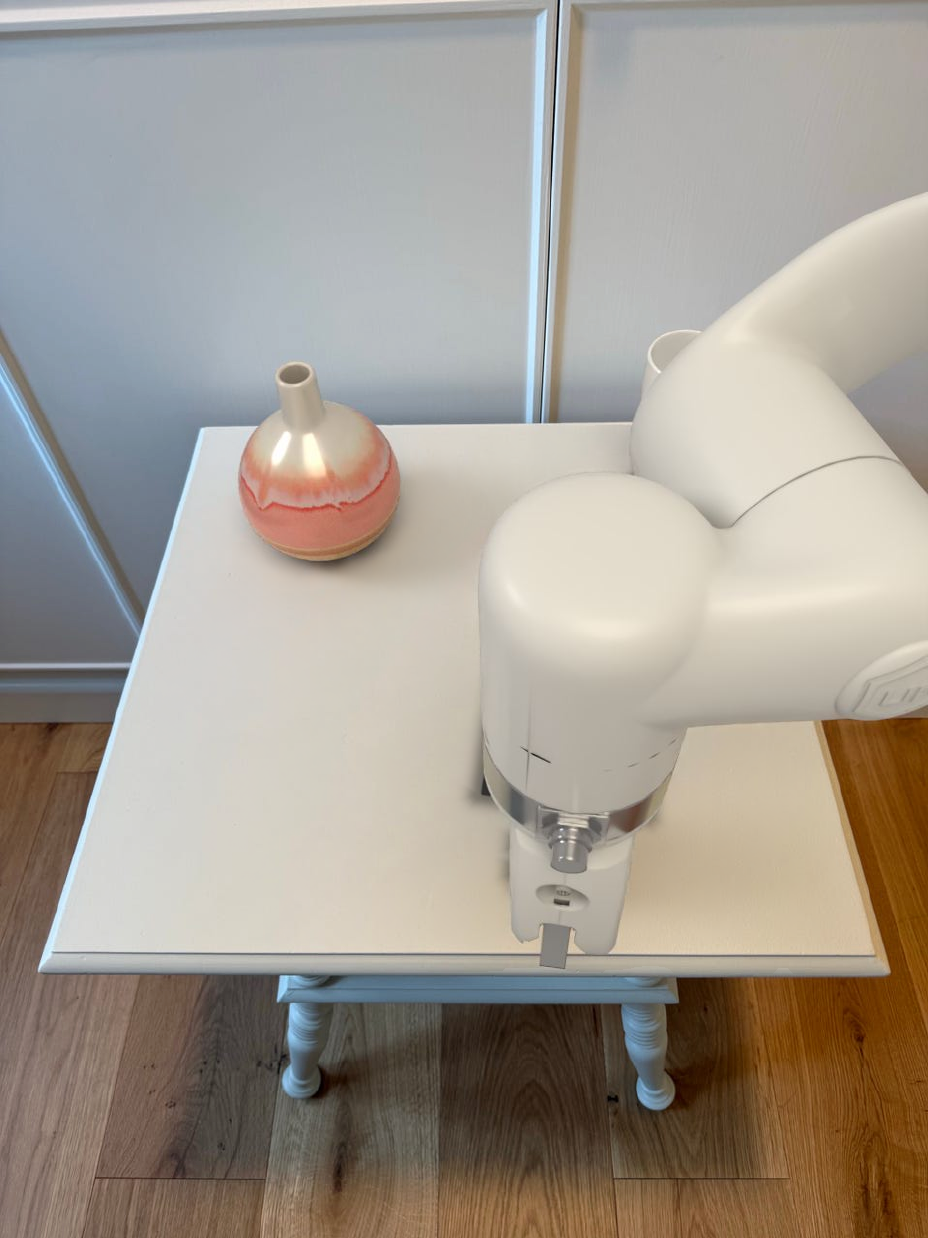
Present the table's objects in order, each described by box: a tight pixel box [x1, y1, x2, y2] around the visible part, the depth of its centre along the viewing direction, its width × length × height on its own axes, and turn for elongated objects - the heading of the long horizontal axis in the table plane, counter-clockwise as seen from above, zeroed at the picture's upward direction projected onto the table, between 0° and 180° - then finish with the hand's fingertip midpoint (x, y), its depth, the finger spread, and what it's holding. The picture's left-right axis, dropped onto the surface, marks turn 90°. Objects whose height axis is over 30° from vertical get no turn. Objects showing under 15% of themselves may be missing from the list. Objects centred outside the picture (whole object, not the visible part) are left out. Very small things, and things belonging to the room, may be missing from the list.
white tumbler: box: [639, 329, 702, 403], centre depth 79 cm, size 7×7×15 cm
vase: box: [237, 360, 402, 562], centre depth 76 cm, size 14×14×18 cm
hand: (555, 900), depth 51 cm, fingers closed
